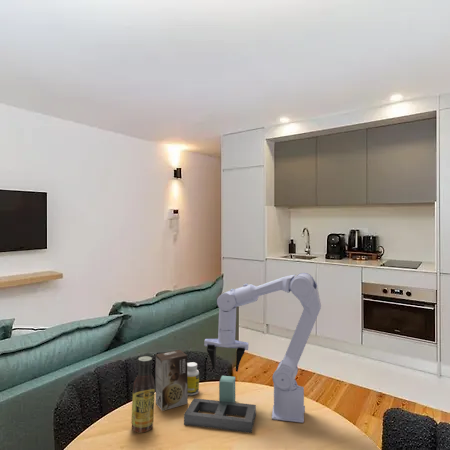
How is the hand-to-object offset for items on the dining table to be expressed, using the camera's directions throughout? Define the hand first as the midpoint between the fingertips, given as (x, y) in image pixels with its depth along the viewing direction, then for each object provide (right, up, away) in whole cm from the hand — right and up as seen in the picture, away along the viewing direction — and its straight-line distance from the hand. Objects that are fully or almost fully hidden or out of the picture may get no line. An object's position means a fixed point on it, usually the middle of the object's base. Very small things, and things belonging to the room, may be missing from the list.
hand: (225, 369), depth 114 cm
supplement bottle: (-12, -11, +8) cm, 18 cm away
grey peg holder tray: (-1, -11, -10) cm, 15 cm away
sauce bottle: (-24, -11, -15) cm, 30 cm away
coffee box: (-18, -11, 0) cm, 21 cm away
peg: (+1, -11, 0) cm, 11 cm away
